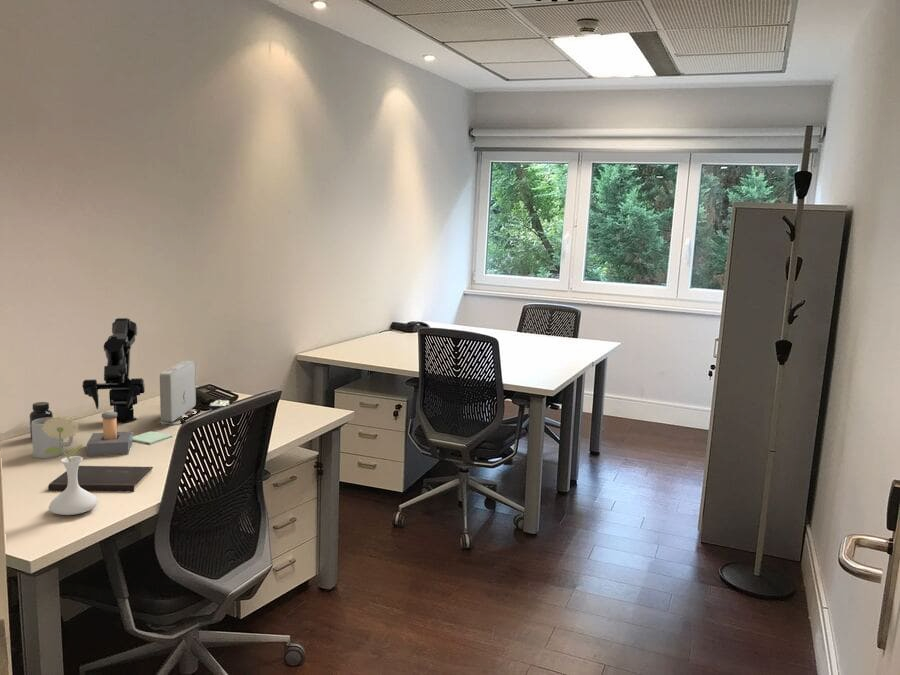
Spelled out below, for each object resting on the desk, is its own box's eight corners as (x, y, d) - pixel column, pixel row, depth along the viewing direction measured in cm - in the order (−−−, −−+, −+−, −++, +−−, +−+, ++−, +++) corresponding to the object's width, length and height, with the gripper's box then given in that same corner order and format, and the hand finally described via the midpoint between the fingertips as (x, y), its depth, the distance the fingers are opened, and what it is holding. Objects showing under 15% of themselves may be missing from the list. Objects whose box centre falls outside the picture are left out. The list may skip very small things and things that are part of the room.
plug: (99, 450, 235) (98, 414, 234) (111, 446, 240) (109, 411, 238) (110, 452, 234) (108, 416, 232) (121, 448, 238) (120, 413, 236)
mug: (27, 458, 225) (25, 423, 224) (41, 449, 234) (40, 416, 232) (66, 459, 226) (65, 424, 224) (79, 450, 234) (78, 417, 233)
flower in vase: (106, 503, 193) (103, 412, 189) (83, 520, 182) (79, 424, 178) (58, 500, 193) (54, 409, 190) (32, 517, 182) (27, 421, 178)
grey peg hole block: (93, 444, 241) (93, 433, 240) (132, 442, 244) (132, 431, 244) (87, 456, 229) (86, 443, 229) (128, 453, 233) (128, 441, 232)
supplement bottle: (25, 439, 244) (24, 404, 242) (43, 433, 250) (42, 400, 248) (40, 441, 241) (38, 406, 240) (58, 436, 248) (56, 402, 246)
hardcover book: (73, 473, 216) (73, 465, 215) (153, 474, 218) (153, 466, 217) (48, 492, 200) (47, 484, 200) (134, 493, 202) (133, 485, 201)
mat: (128, 440, 247) (128, 438, 247) (150, 432, 256) (150, 431, 256) (150, 444, 243) (150, 442, 243) (172, 436, 252) (172, 435, 252)
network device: (177, 427, 263) (176, 373, 260) (153, 426, 263) (151, 372, 260) (201, 409, 289) (201, 360, 286) (179, 409, 289) (178, 359, 286)
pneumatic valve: (230, 428, 265) (230, 396, 264) (222, 437, 254) (222, 404, 252) (215, 427, 265) (214, 395, 263) (206, 437, 254) (205, 403, 252)
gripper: (82, 356, 240) (77, 396, 232) (143, 355, 246) (140, 394, 237) (87, 374, 249) (82, 413, 240) (145, 373, 255) (143, 411, 246)
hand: (112, 408), depth 241 cm, fingers open, 9 cm apart
